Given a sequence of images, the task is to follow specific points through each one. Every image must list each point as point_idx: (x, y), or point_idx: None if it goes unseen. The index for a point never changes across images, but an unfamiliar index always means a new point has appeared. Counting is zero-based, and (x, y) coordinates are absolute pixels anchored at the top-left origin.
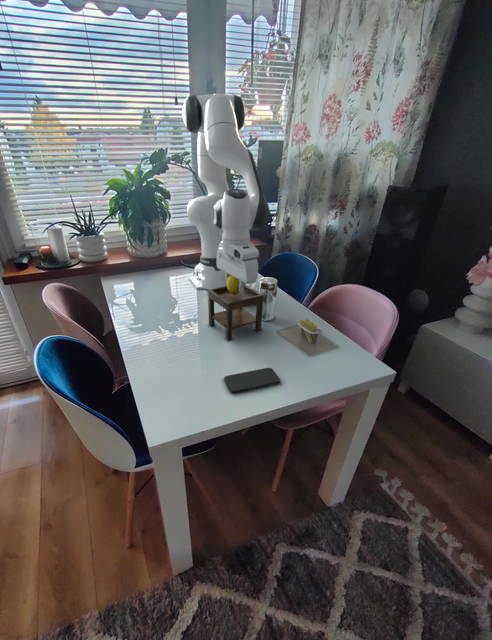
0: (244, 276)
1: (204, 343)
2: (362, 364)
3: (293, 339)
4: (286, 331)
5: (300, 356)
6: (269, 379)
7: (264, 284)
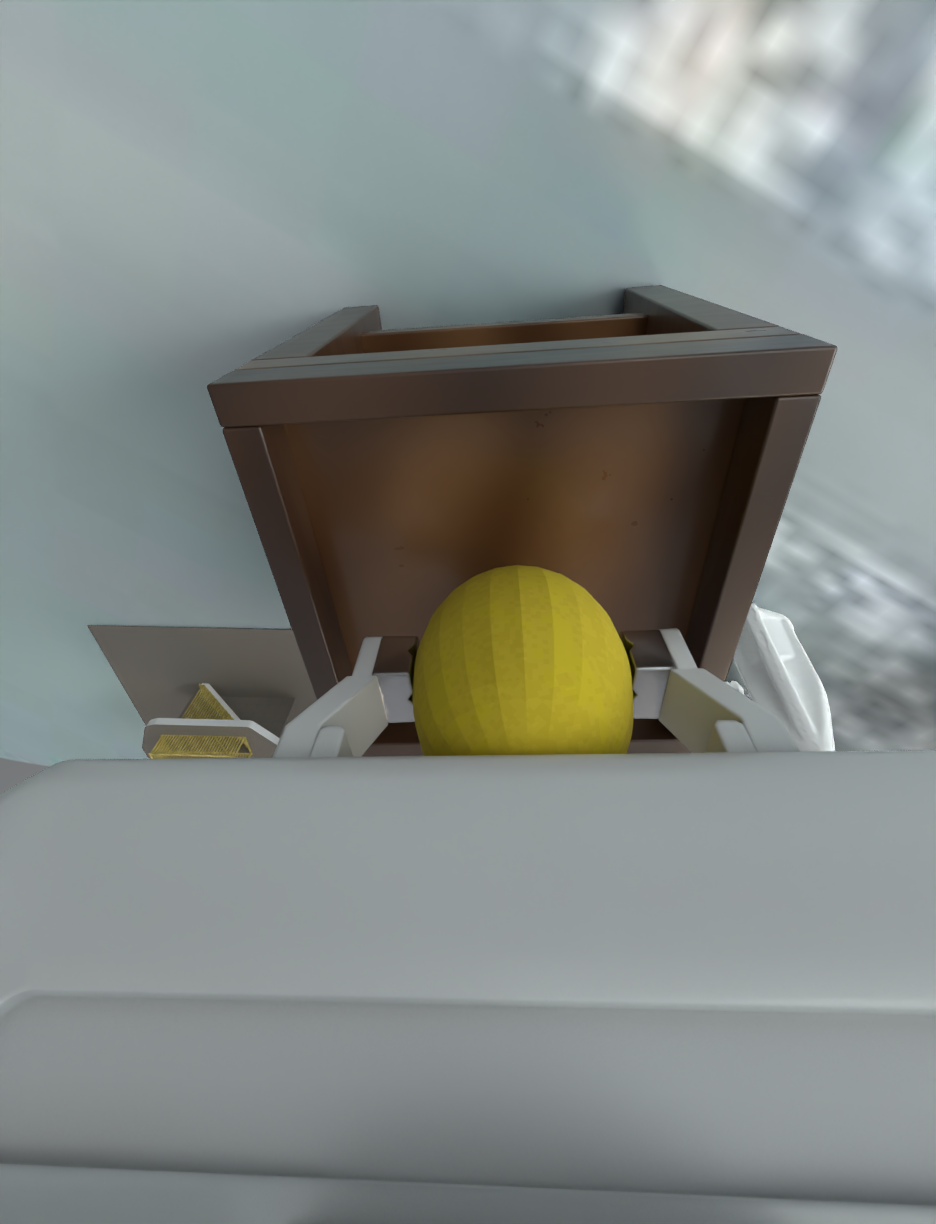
0: (32, 859)
1: (374, 46)
2: (18, 729)
3: (251, 648)
4: None
5: (87, 592)
6: None
7: None
